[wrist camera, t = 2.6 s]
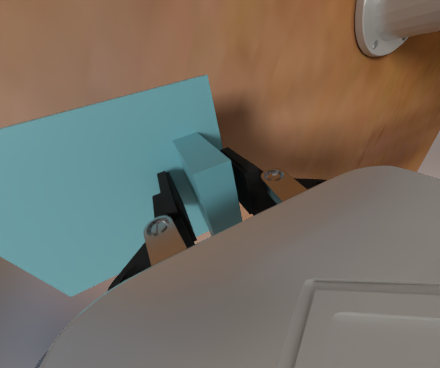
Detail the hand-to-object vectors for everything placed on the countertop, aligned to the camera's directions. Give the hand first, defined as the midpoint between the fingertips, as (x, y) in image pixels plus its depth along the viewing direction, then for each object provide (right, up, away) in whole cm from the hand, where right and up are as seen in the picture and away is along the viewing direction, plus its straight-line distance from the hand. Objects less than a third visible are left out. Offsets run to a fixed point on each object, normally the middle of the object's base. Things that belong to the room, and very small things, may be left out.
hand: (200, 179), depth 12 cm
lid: (-5, -1, +1) cm, 6 cm away
